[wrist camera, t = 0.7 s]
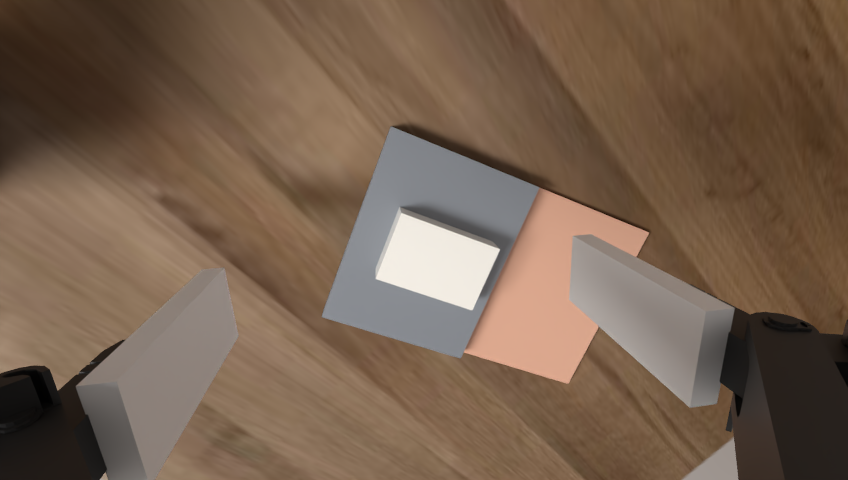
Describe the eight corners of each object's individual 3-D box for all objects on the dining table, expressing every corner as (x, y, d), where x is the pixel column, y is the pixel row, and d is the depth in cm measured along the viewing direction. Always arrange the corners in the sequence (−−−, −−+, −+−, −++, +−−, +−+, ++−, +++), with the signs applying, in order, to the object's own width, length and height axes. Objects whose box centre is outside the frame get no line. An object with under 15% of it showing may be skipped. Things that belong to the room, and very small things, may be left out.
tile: (375, 268, 36) (375, 279, 34) (399, 206, 35) (401, 213, 33) (466, 298, 38) (472, 310, 36) (492, 241, 37) (500, 249, 35)
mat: (458, 348, 42) (459, 350, 42) (533, 185, 38) (535, 185, 38) (566, 381, 45) (568, 383, 44) (646, 231, 41) (649, 232, 40)
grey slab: (324, 307, 39) (321, 317, 37) (390, 126, 35) (391, 126, 33) (456, 347, 42) (460, 358, 40) (531, 184, 38) (539, 187, 36)
